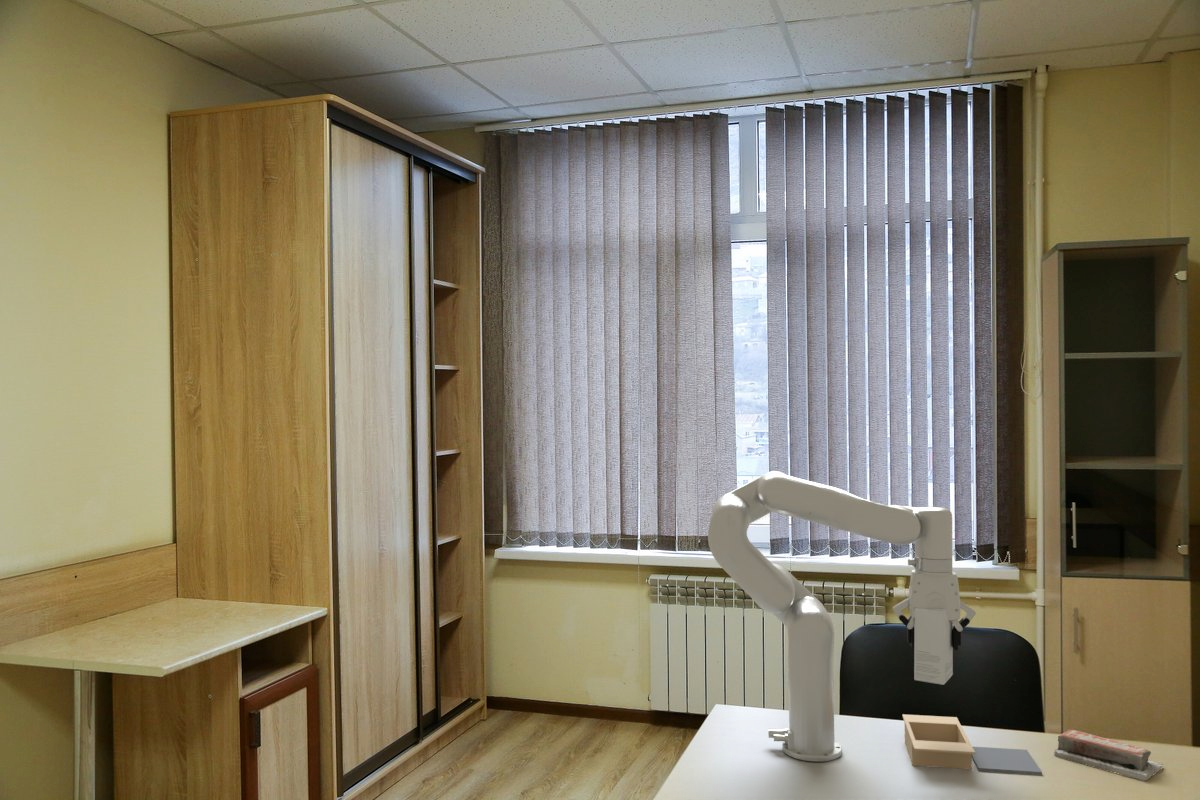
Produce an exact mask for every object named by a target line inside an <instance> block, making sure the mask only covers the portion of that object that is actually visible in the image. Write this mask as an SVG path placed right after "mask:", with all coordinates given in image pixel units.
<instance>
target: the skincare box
mask: <svg viewBox="0 0 1200 800" xmlns="http://www.w3.org/2000/svg"><path fill="white" fill-rule="evenodd" d="M914 609H915V625H914V648H913V649H914V651H913V653H914V654H913V656H914V657H913V659H914V661H913V662H914V663H913V665H914V666H913V669H914V670H913V673H914V674H913V675H914V677H913V679H914V681H918V682H924V683H930V684H936V685H937V684H938V685H941V686H942V685H945V684H946V683H947V682H948V681H949V680H950V679H951V677H952V676H954V672H953V671H954V669H953V668H954V666H953V665H954V663H953V661H954V660H953V659H954V657H953V650H954V649H953V647H952V629H953V626H954V625H953V623H952V622H951V621H948V613H947V610H946V609H928V608H914Z"/></svg>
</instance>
